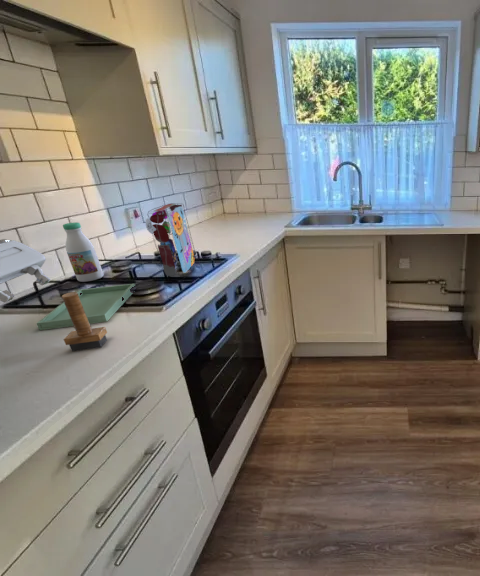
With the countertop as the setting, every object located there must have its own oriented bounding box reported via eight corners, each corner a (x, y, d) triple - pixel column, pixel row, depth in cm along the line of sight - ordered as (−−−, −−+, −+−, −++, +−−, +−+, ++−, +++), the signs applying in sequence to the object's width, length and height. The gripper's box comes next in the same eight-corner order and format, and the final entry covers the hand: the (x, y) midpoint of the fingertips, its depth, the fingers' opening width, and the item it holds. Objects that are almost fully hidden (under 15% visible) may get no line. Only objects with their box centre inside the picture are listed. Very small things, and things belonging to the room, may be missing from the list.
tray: (39, 330, 95) (35, 323, 94) (81, 295, 116) (79, 289, 115) (107, 321, 99) (104, 314, 98) (136, 289, 120) (134, 283, 119)
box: (174, 290, 118) (154, 216, 108) (154, 292, 117) (132, 217, 107) (198, 265, 140) (183, 202, 131) (182, 266, 140) (165, 203, 130)
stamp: (68, 352, 85) (46, 300, 79) (77, 343, 88) (56, 293, 83) (103, 347, 86) (83, 295, 81) (110, 339, 90) (91, 289, 84)
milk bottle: (85, 275, 133) (65, 221, 125) (108, 273, 134) (90, 220, 126) (72, 283, 126) (50, 226, 118) (97, 281, 127) (77, 225, 119)
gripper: (4, 246, 88) (60, 282, 92) (-97, 277, 69) (-21, 320, 73) (14, 228, 86) (71, 265, 90) (-86, 254, 67) (-9, 299, 71)
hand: (29, 290), depth 81 cm, fingers open, 8 cm apart
